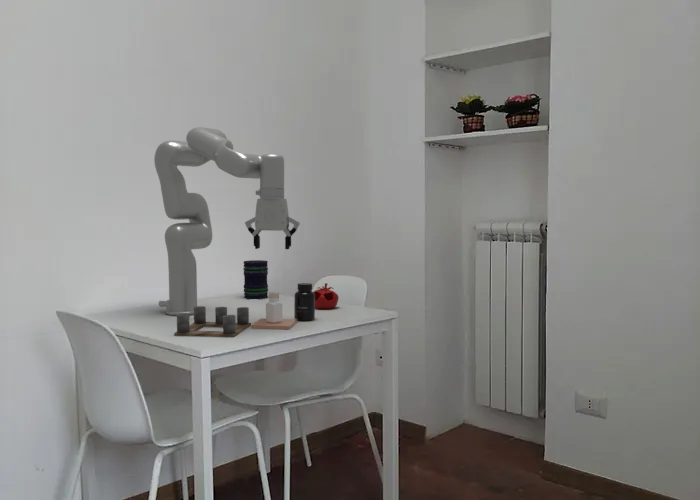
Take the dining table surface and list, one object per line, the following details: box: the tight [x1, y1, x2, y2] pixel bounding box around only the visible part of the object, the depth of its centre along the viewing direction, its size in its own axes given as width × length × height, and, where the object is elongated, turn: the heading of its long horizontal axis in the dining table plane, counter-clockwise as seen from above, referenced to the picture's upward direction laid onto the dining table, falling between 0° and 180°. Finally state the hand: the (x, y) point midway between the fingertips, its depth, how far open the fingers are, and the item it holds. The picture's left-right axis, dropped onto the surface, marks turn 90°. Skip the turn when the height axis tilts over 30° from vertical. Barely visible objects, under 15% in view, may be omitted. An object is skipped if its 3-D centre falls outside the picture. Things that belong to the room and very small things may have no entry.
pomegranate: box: [313, 282, 339, 310], centre depth 237 cm, size 10×10×9 cm
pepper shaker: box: [265, 291, 283, 323], centre depth 203 cm, size 4×4×10 cm
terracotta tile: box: [250, 317, 298, 330], centre depth 204 cm, size 12×12×1 cm
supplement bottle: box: [293, 282, 316, 322], centre depth 213 cm, size 7×7×12 cm
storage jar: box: [242, 259, 269, 300], centre depth 262 cm, size 10×10×15 cm
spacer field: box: [173, 305, 252, 338], centre depth 195 cm, size 18×18×6 cm
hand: (272, 248), depth 202 cm, fingers open, 9 cm apart
